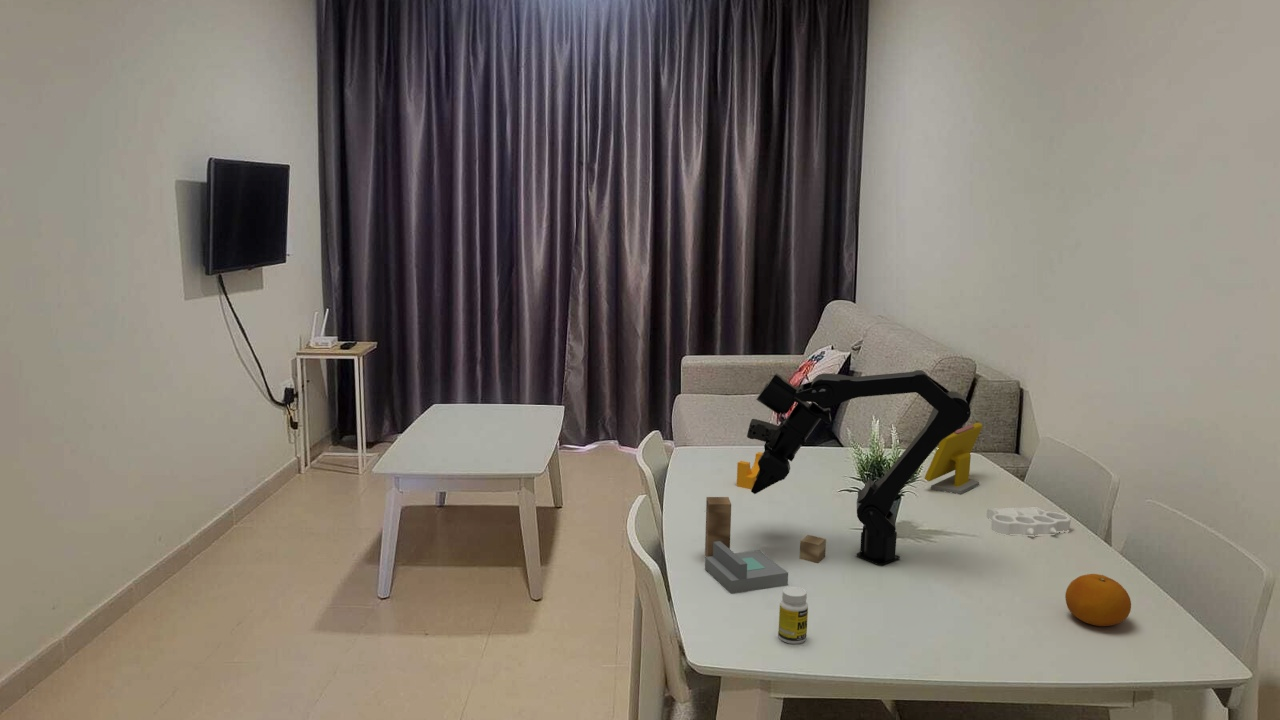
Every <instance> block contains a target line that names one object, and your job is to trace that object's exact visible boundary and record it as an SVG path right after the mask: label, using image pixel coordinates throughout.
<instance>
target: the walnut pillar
mask: <svg viewBox="0 0 1280 720" xmlns="http://www.w3.org/2000/svg"><path fill="white" fill-rule="evenodd" d="M705 506H706V508H705V534H704V535H705V537H704V538H705V539H704V541H705V542H704V543H705V544H704V545H705V546H704V556H706V557H710V556H713V542H716V541H721V542H722V543H723V544H724V545H725V546H727V547H728V548H729V549H730V550H731V528H732V526H731V523H732V502H731V500H730V498H729V496H706V504H705Z"/></svg>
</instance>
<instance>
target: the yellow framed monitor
mask: <svg viewBox="0 0 1280 720" xmlns="http://www.w3.org/2000/svg"><path fill="white" fill-rule="evenodd" d="M983 427H984V426H983V424H982V423H980V422H976V423H973V424H969V425H966V426H965V427H960V428H959V429H958V430H957V431H955V432H954V433H952V434H951V435H949V436H948V437H946V438H944V439H943V440H942V441H941V442H940V443H939V444H938V445H937V448H939V449H938V450H937V449H936V450H937V451H935V453H934V455H933V457H932V460H931V462H930V464H929V467H928V469H927V471H926V472H925V473H926V474H925V475H924V480H926V481H927V482H932V481H933V480H936V479H938V478H941V477H942V476H945V475H947V474H949V473H952V472H954V471H955V472H954V475H951V476H949V477H946V478H944V479H943V480H940V481H938V482H936V483H934V484H932V485H931V487H930V489H931V490H933V489H935V490H934V491H938V490H940V491H939V492H944V491H946V492H945V493H950V492H952V493H951V494H956V493H958V494H957V495H962V494H964V493H966V492H968V491H970V490H973V489H974V487H975V488H977V487H978V485H979V486H980V481H979V480H975V479H974V478H973V479H972V478H970V470H971V456H972V455H971V454H972V453H971V452H972V450H973V448H974V446H975V443H977V442H976V441H977V440H978V437H979V435H980V433H981V431H982V429H983ZM976 486H977V487H976ZM972 488H973V489H972Z"/></svg>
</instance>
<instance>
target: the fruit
mask: <svg viewBox="0 0 1280 720" xmlns="http://www.w3.org/2000/svg"><path fill="white" fill-rule="evenodd" d="M1064 598H1065V603H1066V607H1067V609H1068V610H1069V612H1071V614H1072V615H1073V616H1074V617H1076V618H1077V619H1078V620H1080V621H1081V622H1083V623H1086V624H1088V625H1093V626H1098V627H1109V626H1114V625H1118V624H1121V623H1122V622H1124V621H1125V620H1126V619H1127V618H1128V617H1129V615H1130V613H1131V612H1132V611H1131V609H1132V600H1131V597H1130V595H1129V593H1128V592H1127V590H1126V589H1125V588H1124V587H1123V585H1122V584H1120V583H1119V582H1118V581H1116V580H1115V579H1113V578H1111V577H1108V576H1107V575H1103V574H1100V573H1099V574H1097V573H1089V574H1088V573H1087V574H1083V575H1080V576H1078V577H1076V578H1075V579H1073V580H1072V581H1071V582H1070V583H1069V584H1068V586H1067V587H1066V591H1065V597H1064Z"/></svg>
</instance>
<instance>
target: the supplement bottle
mask: <svg viewBox="0 0 1280 720" xmlns="http://www.w3.org/2000/svg"><path fill="white" fill-rule="evenodd" d="M807 593H808V592H807V591H806V590H805V589H804V588H802V587H799V586H787V587H784V588H783V589H782V595H781V598H782V599H781V600H780V602H779V612H778V613H779V615H778V616H779V617H778V633H777V634H778V635H777V636H778V638H779V640H781V641H782V642H784V643H787V644H794V645H797V644H799V645H800V644H802V643H804V642H805V641H806V640H807V636H808V635H807V634H808V633H807V632H808V615H809V605H808V602H807V598H808V597H807V596H808V595H807Z"/></svg>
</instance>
